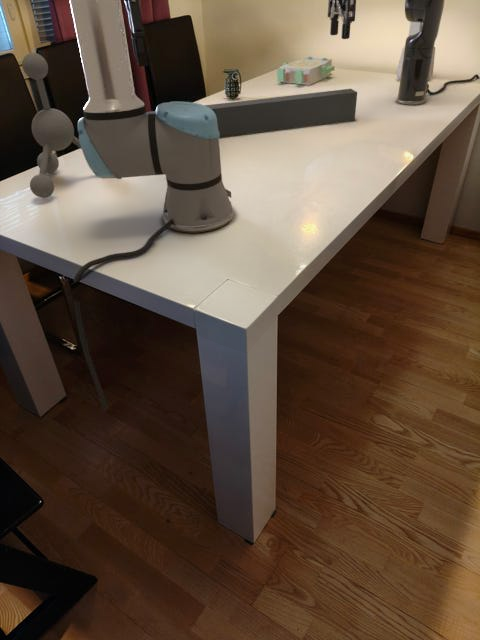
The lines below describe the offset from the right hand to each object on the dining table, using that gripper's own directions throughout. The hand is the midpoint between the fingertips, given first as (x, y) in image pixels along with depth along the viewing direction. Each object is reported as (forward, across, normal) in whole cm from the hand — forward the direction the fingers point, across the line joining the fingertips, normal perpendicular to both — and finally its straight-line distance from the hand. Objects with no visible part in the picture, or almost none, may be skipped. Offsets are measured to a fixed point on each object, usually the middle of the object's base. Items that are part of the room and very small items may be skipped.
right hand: (339, 36), depth 144 cm
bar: (+24, 0, +29) cm, 38 cm away
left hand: (+1, 0, +59) cm, 59 cm away
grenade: (+24, +42, +24) cm, 54 cm away
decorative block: (+24, +60, -12) cm, 66 cm away
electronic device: (+24, +39, -50) cm, 68 cm away
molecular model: (+24, -22, +82) cm, 88 cm away
